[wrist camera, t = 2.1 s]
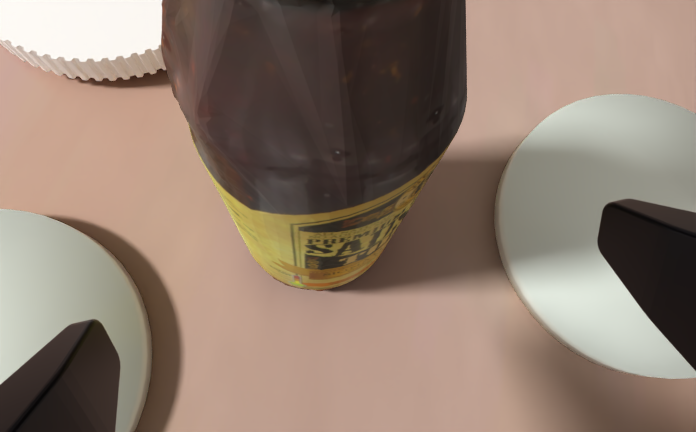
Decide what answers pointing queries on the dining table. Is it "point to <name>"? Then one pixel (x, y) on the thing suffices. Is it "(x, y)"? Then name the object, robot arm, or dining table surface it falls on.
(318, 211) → the sauce bottle
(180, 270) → the dining table surface
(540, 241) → the dish right
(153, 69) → the plastic lid
